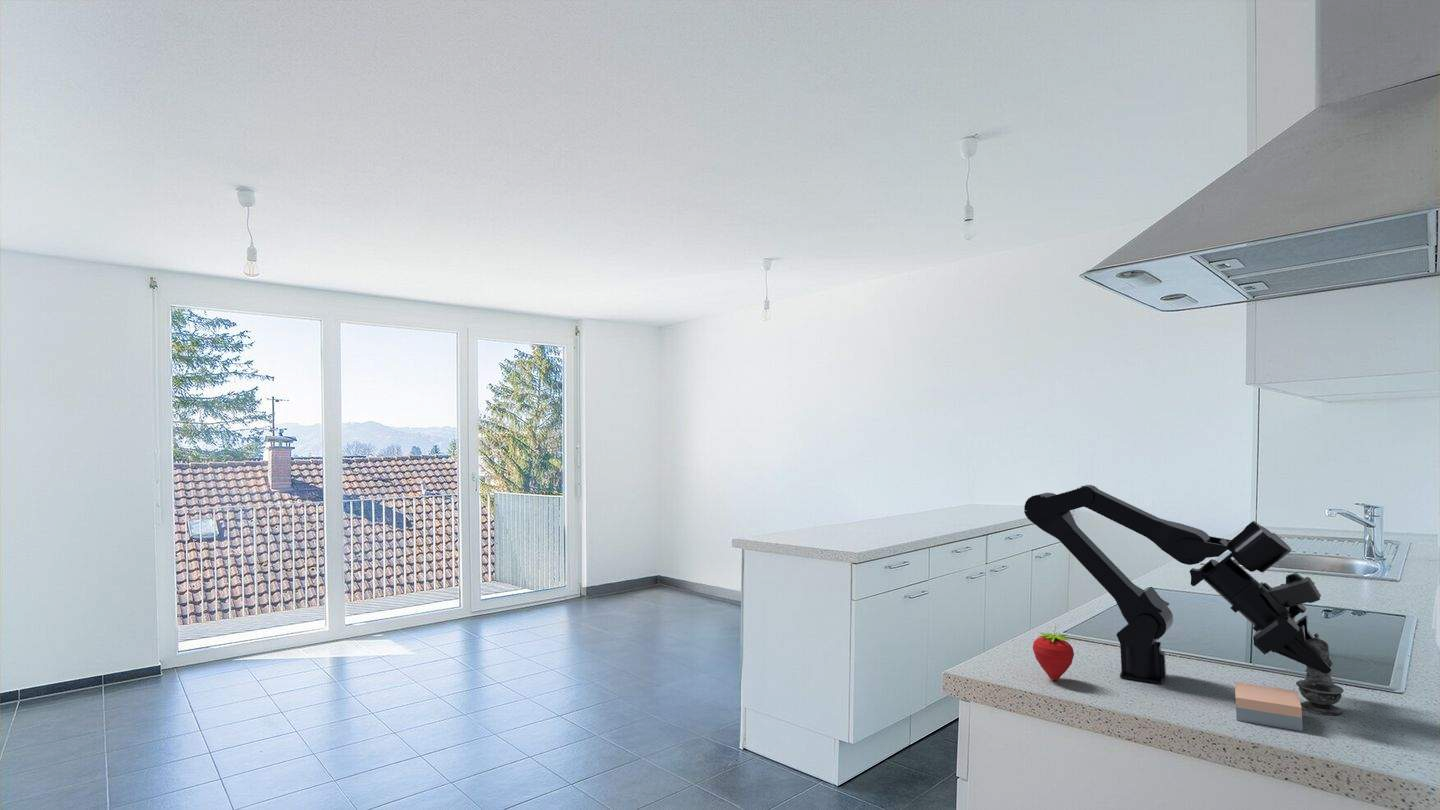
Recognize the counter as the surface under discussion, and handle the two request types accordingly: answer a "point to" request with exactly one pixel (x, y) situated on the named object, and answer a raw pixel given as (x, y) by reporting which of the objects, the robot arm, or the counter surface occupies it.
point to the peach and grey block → (1268, 706)
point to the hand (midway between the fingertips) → (1329, 668)
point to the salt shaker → (1320, 685)
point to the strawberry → (1053, 654)
